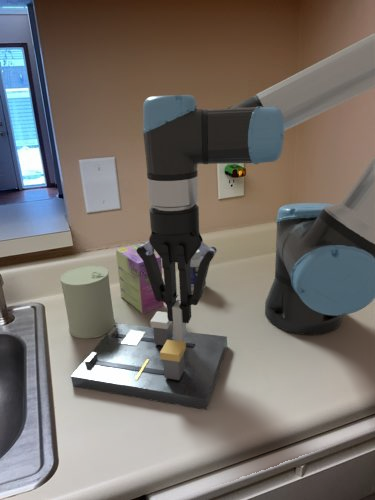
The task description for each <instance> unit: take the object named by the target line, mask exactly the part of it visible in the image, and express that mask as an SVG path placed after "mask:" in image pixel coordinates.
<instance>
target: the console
mask: <svg viewBox="0 0 375 500" xmlns="http://www.w3.org/2000/svg"><path fill="white" fill-rule="evenodd" d="M104 335H105V336H104V337H103V338H102V339H101V340H100V341H99V343H98V344H97V345H96V346H95V347H94V349H93V350H92V351H91V352H90V353H89V354H88V355H87V356H86V358H85V359H84V360H83V362H81V364H80V365H79V366H78V367H77V369H75V370H74V372H73V373H72V374H71V376H70V378H71V384H72V387H75V388H81V389H86V390H90V391H91V390H92V391H97V392H103V393H109V394H114V395H118V396H119V395H121V396H126V397H131V398H136V399H144V400H149V401H154V402H158V403H159V402H160V403H165V404H171V405H176V406H182V407H188V408H194V409H200V410H205V411H207V410H208V407H209V404H210V401H211V398H212V396H213V392H214V388H215V385H216V382H217V379H218V376H219V373H220V370H221V366H222V364H223V361H224V357H225V354H226V351H227V349H228V336H223V335H218V334H217V335H216V334H209V333H199V332H192V331H187V334H186V336H185V338H184V340H183V341H182V342H186V350H185V352H184V365H185V369H184V371H183V373H182V376H181V378H180V380H175V379H169V378H165V377H164V365H163V359H160V351H161V350H162V348H163V346H164V345H157V344H155V342H154V331H153V327H151V326H144V325H143V326H142V325H141V326H140V325H133V324H126V323H118V322H117V323H116V322H115V325H114V326H113V327H112V328H111V330H110V331H109V332H108V333H106V334H104ZM172 335H173V337H172V339H171V340H174V330H173V329H172Z"/></svg>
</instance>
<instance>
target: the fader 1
mask: <svg viewBox="0 0 375 500" xmlns="http://www.w3.org/2000/svg"><path fill="white" fill-rule="evenodd" d="M149 323H150V327H151V328H153V331H154V342H155V344H157V345H164V344H165V343H166V341H167V340H171V339H172V337H173V335H172V330H173V321H169V320H168V315H167V311H156V312H155V313H154V315H153V316H152V318H151V319H150V321H149Z"/></svg>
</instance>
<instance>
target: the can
mask: <svg viewBox="0 0 375 500" xmlns="http://www.w3.org/2000/svg"><path fill="white" fill-rule="evenodd" d="M109 277H110V276H109V270H108V269H107V268H106V267H104V266H100V265H82V266H77V267H73V268H72V269H69V270H67V271H65V272H64V273H63V274H61V275H60V279H59V280H60V281H59V282H60V283H61V290H62V294H63V299H64V303H65V310H66V315H67V321H68V322H67V323H68V332H69V334H70V335H71V336H73V337H74V338H77V339H82V340H84V339H85V340H86V339H87V340H90V339H95V338H99V337H101V336H104V335H106V334H107V333H108V332H109V331H110V330H111V328H112V327H113V326H114V325H115V324H116V319H115V316H114V310H113V304H112V295H111V287H110V286H111V284H110V280H109V279H110V278H109Z"/></svg>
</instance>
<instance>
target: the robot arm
mask: <svg viewBox="0 0 375 500" xmlns="http://www.w3.org/2000/svg"><path fill="white" fill-rule="evenodd" d="M374 88H375V33H372V34H370V35H369V36H366V37H365V38H362V39H360V40H359V41H357V42H355V43H353V44H351V45H349V46H346V47H345V48H343V49H342V50H339V51H337V52H336V53H334V54H332V55H330V56H328V57H326V58H324V59H322V60H320V61H317V62H316V63H314V64H312V65H311V66H308V67H307V68H305V69H303V70H301V71H298V72H297V73H294V74H293V75H291V76H289V77H287V78H285V79H284V80H281V81H279V82H278V83H276V84H274V85H272V86H270V87H268V88H265V90H264V89H263V90H262V91H260V92H258V93H256V94H255V95H253V96H250V97H249V98H246V99H245V100H243V101H241V102H238V103H237V104H235V105H232V106H229V107H228V108H219V109H218V108H217V109H203V108H198V105H197V102H196V98H195V96H193V95H192V94H181V95H178V94H177V95H175V94H173V95H171V94H170V95H154V96H149V97H147V98H146V99H145V100H144V102H143V105H142V109H143V129H142V134H143V143H144V144H143V145H144V153H145V163H146V176H147V178H146V179H147V180H146V181H147V195H148V196H147V197H148V203H149V205H150V207H149V221H150V222H149V223H150V231H151V233H150V236H149V238H148V241H147V242H143V243H142V244H140V245H139V247H138V248H137V253H138V254H139V256H140V257H141V259H142V260H143V262H144V265H145V268H146V271H147V274H148V277H149V281H150V284H151V287H152V290H153V293H154V296H155V299H156V300H157V301H158V302H160V301H162V302H164V304H165V305H166V312H167V315H168V320H169V321H172V330H174V341H183V340H184V338H185V336H186V334H187V332H188V331H187V329H188V328H187V324H189V322H190V320H191V319H192V306H197V305H198V304H199V302H200V300H201V298H202V295H203V293H204V289H205V288H204V285H205V280H207V276H208V271H209V267H210V264H211V262H212V260H213V259H214V257H215V255H216V254H217V252H218V251H217V248H216V247H215V246H209V245H207V244H205V243H204V241H203V236H202V235H201V233H200V215H199V213H200V211H199V209H200V208H199V207H200V206H199V205H197V202H198V201H199V179H198V178H199V176H198V175H199V174H198V173H199V172H198V166H199V165H209V164H210V165H211V164H218V165H219V164H254V165H258V164H262V163H273V162H276V161H278V160H279V159H280V158H281V156H282V153H283V149H284V148H283V147H284V140H285V139H284V138H285V131H287V130H289V129H291V128H293V127H296V126H297V125H300V124H302V123H305V122H306V121H308V120H311V119H312V118H314V117H316V116H318V115H320V114H322V113H325V112H326V111H327V112H328V111H329V110H330V109H332V108H333V109H334V108H335V107H337V106H340V105H341V104H343V103H345V102H347V101H350V100H351V99H353V98H356V97H358V96H360V95H362V94H364V93H366V92H369V91H370V90H372V89H374ZM275 223H276V240H275V241H276V243H275V265H274V266H275V267H274V268H275V270H274V279H273V282H272V284H271V286H270V289H269V292H268V294H267V297H266V299H265V303H264V304H265V305H264V314H265V315H264V316H265V317H266V318H267V320H268V321H269V322H270V323H271V324H272V325H274V326H276V327H277V328H279V329H281V330H284V331H287V332H289V333H294V334H299V335H313V336H314V335H323V334H326V333H330V332H333V331H334V330H336V329H338V328H340V326H341V325H342V323H343V315H351V314H353V313H356V312H358V311H361V310H362V309H365V308H367V306H368V305H370V304H372V302H373V301H374V300H375V156H374V157H373V158H372V159H371V161H370V162H369V164H368V165H367V166H366V168H365V169H364V171H363V172H362V173H361V174H360V176H359V177H358V178H357V180H356V181H355V182H354V184H353V185H352V187H351V188H350V190H348V192H347V194H346V195H345V197H344V198H343V199H342V200H341V201H340V202H339V203H335V204H334V203H324V202H322V203H321V202H302V203H301V202H300V203H290V204H285V205H282V206H281V207H280V208H279V209H278V211H277V217H276V220H275ZM198 249H199V251H200V254H199V257H200V259H202V261H201V262H200V265H199V269H198V273H197V277H196V282H195V286H194V290H193V292H191V273H190V263H191V258H192V257H193V255H194V254H195V253H196V251H197V250H198ZM155 252H156V253H157V255H158V256H159V257H161V265H162V269H163V274H162V275H161V272H160V269H159V266H158V262H157V259H156V256H155V254H156V253H155ZM176 264H177V270H178V280H179V282H178V283H179V294H178V293H177V292H178V291H177V290H178V289H177V274H176V273H177V272H176ZM178 296H179V297H180V298H179V299H177V298H178Z"/></svg>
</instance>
